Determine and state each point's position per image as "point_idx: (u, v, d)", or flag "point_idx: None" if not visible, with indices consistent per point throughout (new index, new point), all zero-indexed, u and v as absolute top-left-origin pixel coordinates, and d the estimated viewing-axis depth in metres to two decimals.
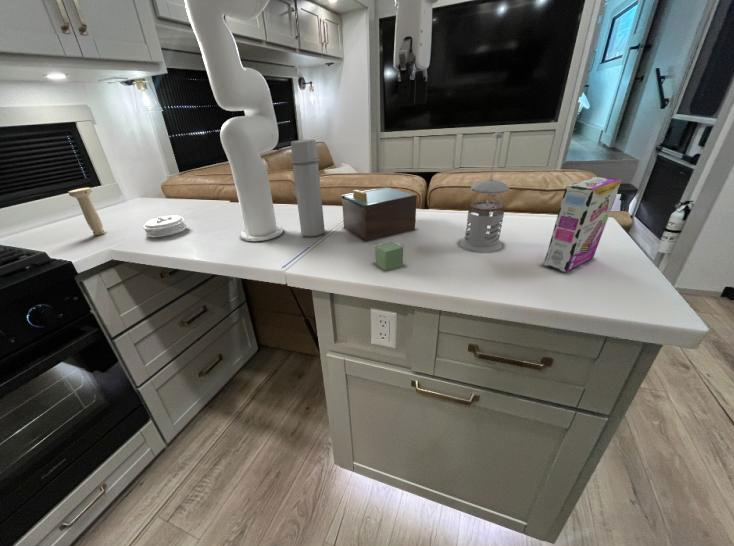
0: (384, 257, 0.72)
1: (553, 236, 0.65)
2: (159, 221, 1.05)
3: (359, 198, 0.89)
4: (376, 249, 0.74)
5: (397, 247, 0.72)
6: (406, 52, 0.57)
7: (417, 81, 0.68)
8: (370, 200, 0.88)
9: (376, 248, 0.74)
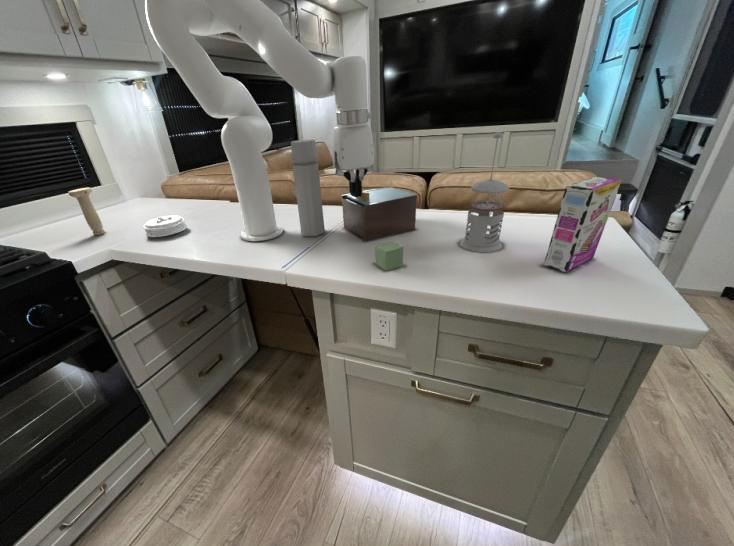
0: (384, 257, 0.72)
1: (553, 236, 0.65)
2: (159, 221, 1.05)
3: (362, 197, 0.90)
4: (376, 249, 0.74)
5: (397, 247, 0.72)
6: (339, 172, 0.84)
7: (355, 179, 0.88)
8: (373, 199, 0.88)
9: (376, 248, 0.74)
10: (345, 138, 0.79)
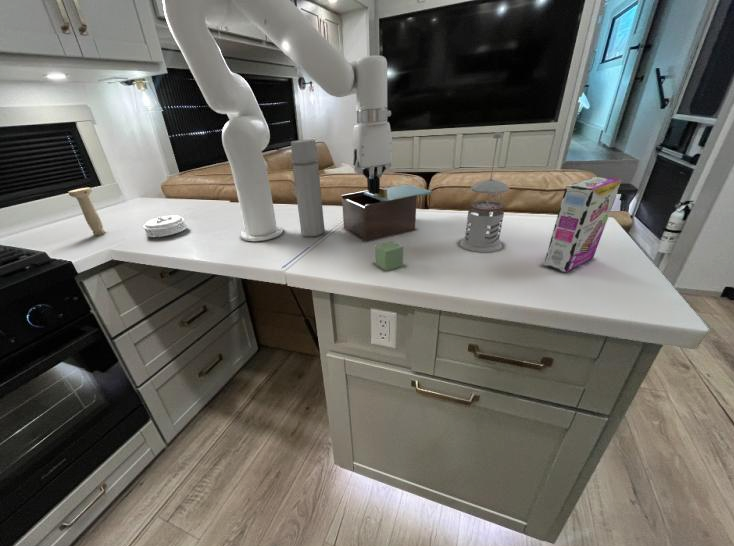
0: (384, 257, 0.72)
1: (553, 236, 0.65)
2: (159, 221, 1.05)
3: (379, 194, 0.91)
4: (376, 249, 0.74)
5: (397, 247, 0.72)
6: (359, 169, 0.86)
7: (373, 177, 0.89)
8: (390, 196, 0.90)
9: (376, 248, 0.74)
10: (365, 136, 0.81)
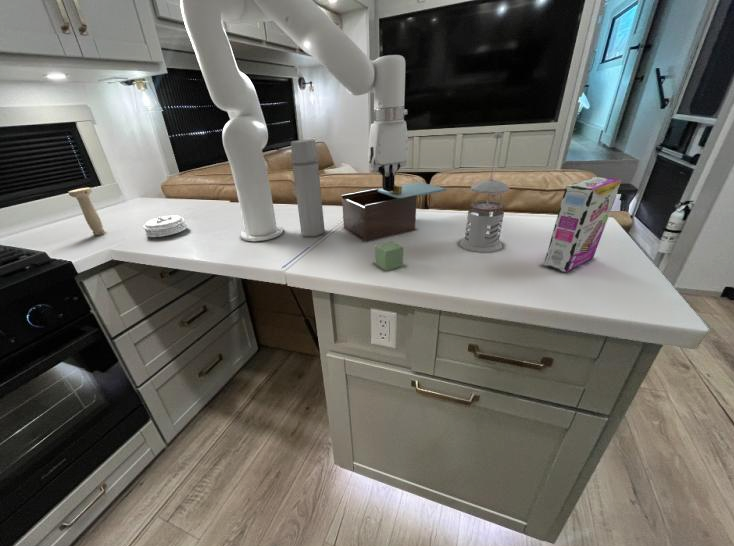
0: (384, 257, 0.72)
1: (553, 236, 0.65)
2: (159, 221, 1.05)
3: (394, 191, 0.93)
4: (376, 249, 0.74)
5: (397, 247, 0.72)
6: (374, 166, 0.87)
7: (388, 174, 0.91)
8: (405, 193, 0.92)
9: (376, 248, 0.74)
10: (382, 134, 0.82)
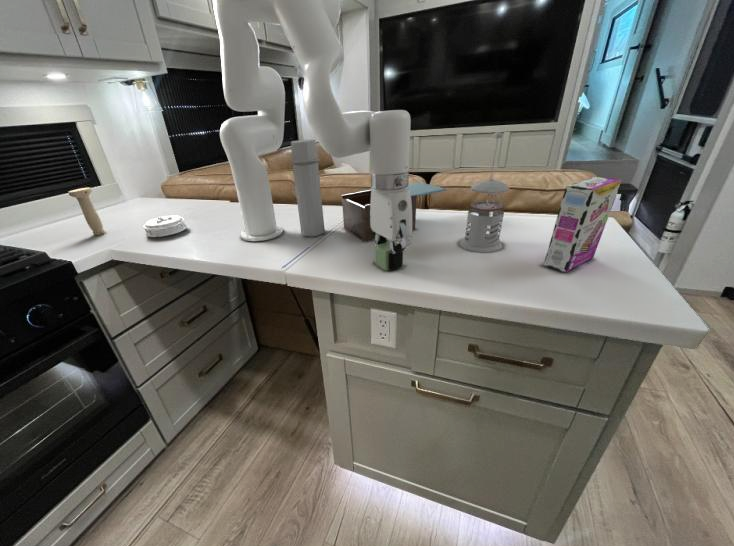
0: (384, 257, 0.72)
1: (553, 236, 0.65)
2: (159, 221, 1.05)
3: None
4: (376, 249, 0.74)
5: None
6: None
7: None
8: None
9: (376, 248, 0.74)
10: (372, 199, 0.70)
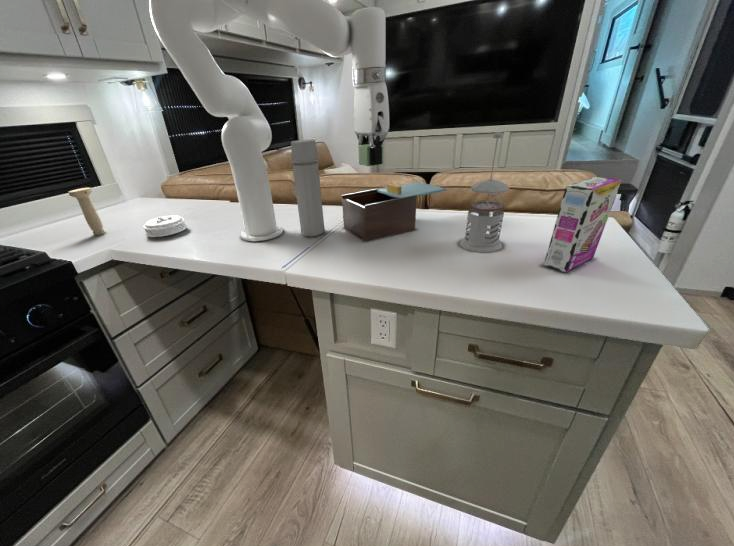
0: (366, 153, 0.82)
1: (553, 236, 0.65)
2: (159, 221, 1.05)
3: (393, 191, 0.93)
4: (359, 148, 0.84)
5: None
6: (356, 130, 0.86)
7: None
8: (404, 193, 0.92)
9: (359, 147, 0.84)
10: (355, 99, 0.80)
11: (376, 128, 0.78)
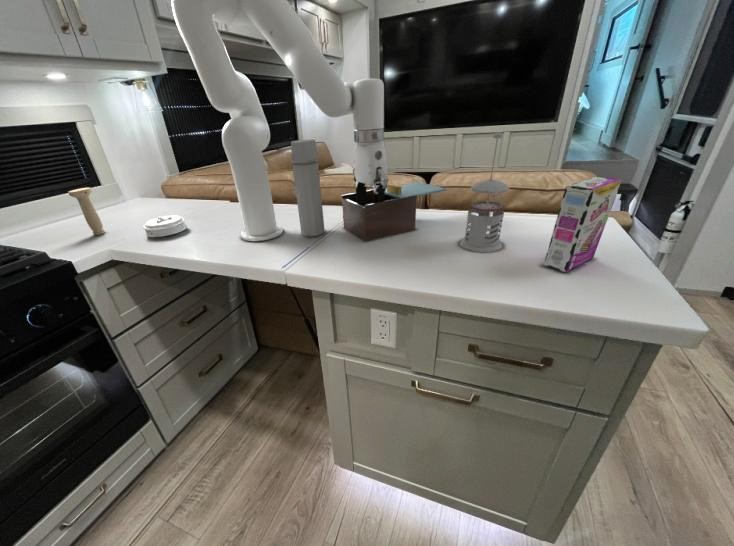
0: None
1: (553, 236, 0.65)
2: (159, 221, 1.05)
3: (393, 191, 0.93)
4: None
5: None
6: (354, 171, 0.94)
7: None
8: (404, 193, 0.92)
9: None
10: (355, 153, 0.87)
11: (375, 180, 0.86)
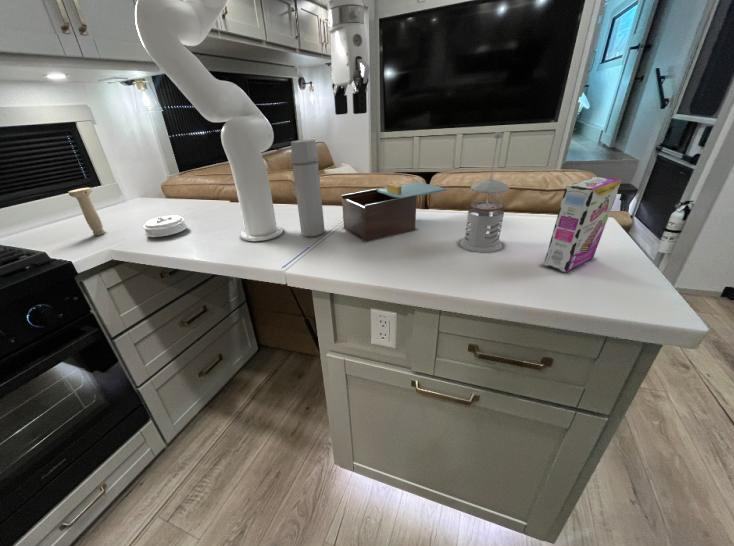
0: None
1: (553, 236, 0.65)
2: (159, 221, 1.05)
3: (393, 191, 0.93)
4: None
5: None
6: (332, 76, 0.80)
7: None
8: (404, 193, 0.92)
9: None
10: (331, 46, 0.73)
11: None
